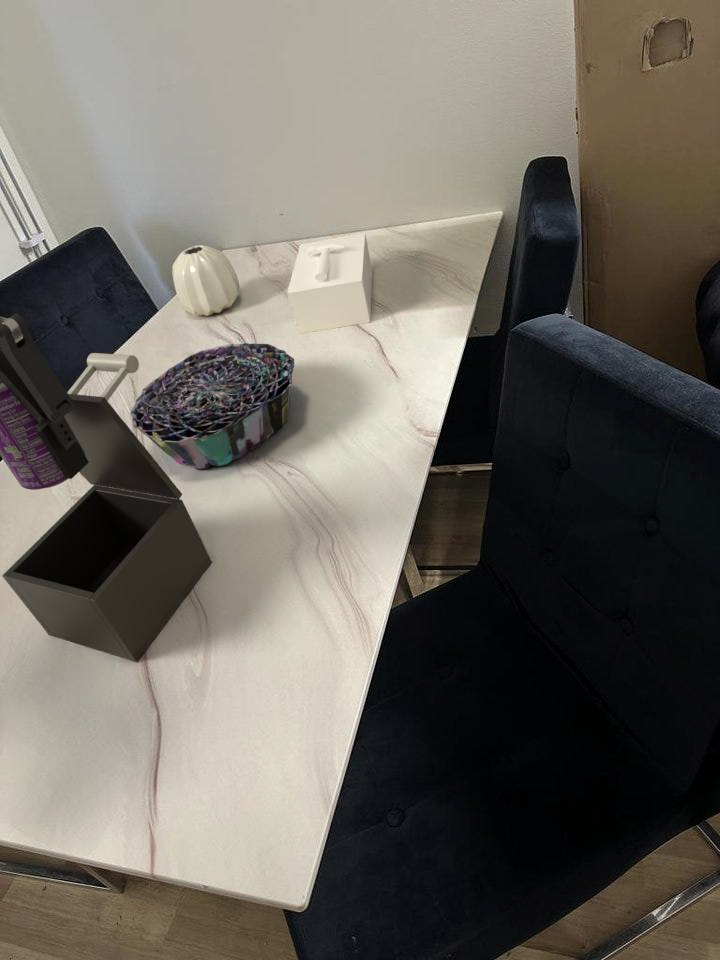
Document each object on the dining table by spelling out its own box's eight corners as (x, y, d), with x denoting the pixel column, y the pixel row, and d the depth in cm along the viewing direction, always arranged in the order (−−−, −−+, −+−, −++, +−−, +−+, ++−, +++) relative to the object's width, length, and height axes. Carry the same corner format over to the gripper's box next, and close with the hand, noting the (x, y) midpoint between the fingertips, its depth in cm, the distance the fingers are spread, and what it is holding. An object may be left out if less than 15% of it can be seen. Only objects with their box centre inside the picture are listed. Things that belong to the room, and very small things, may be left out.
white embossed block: (372, 270, 148) (363, 221, 141) (370, 322, 129) (359, 268, 122) (309, 281, 150) (297, 234, 143) (298, 334, 131) (283, 281, 124)
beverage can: (39, 456, 74) (-20, 363, 66) (97, 448, 73) (44, 352, 65) (11, 499, 69) (-57, 402, 61) (74, 490, 67) (13, 391, 60)
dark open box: (137, 662, 75) (95, 601, 68) (48, 635, 81) (1, 575, 74) (212, 561, 86) (182, 499, 79) (128, 543, 92) (94, 484, 85)
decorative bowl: (338, 406, 111) (328, 352, 106) (227, 501, 94) (207, 442, 88) (229, 383, 125) (214, 334, 119) (114, 462, 108) (90, 409, 102)
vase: (185, 303, 155) (163, 247, 146) (243, 288, 155) (224, 231, 147) (183, 328, 144) (160, 269, 136) (245, 312, 144) (226, 252, 136)
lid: (99, 402, 66) (149, 335, 71) (2, 393, 72) (54, 331, 77) (179, 499, 78) (216, 436, 83) (90, 484, 84) (130, 426, 89)
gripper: (-189, 276, 57) (-39, 477, 72) (-39, 274, 49) (97, 502, 63) (-114, 240, 62) (12, 435, 77) (34, 233, 54) (144, 454, 68)
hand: (50, 465), depth 70 cm, fingers closed on beverage can, 7 cm apart
